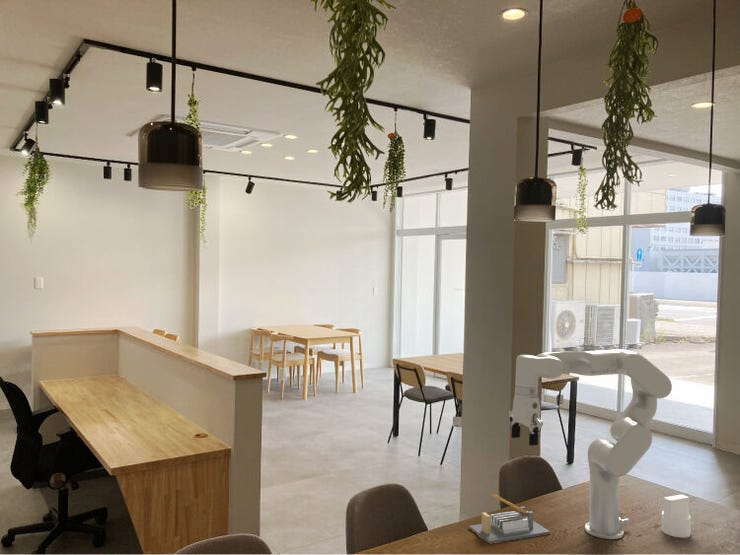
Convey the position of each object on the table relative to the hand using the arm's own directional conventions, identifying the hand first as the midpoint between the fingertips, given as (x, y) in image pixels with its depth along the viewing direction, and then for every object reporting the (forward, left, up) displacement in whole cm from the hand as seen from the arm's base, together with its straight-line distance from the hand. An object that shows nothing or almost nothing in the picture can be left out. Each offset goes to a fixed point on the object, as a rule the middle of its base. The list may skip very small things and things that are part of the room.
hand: (524, 441), depth 204 cm
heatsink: (+4, -3, -32) cm, 32 cm away
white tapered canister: (-51, +16, -32) cm, 63 cm away
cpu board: (+4, -3, -32) cm, 32 cm away
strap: (+3, -3, -23) cm, 24 cm away
